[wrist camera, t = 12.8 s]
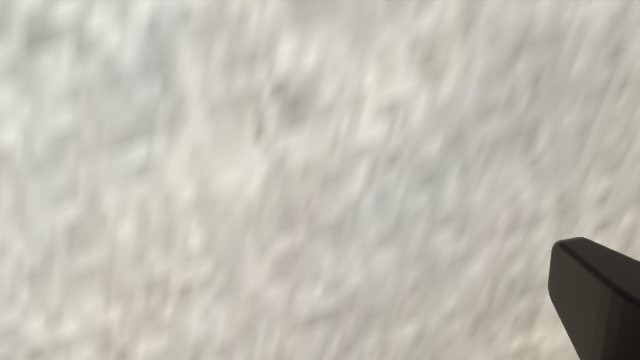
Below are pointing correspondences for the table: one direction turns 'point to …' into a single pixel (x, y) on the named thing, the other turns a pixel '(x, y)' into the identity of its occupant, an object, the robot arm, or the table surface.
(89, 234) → the table surface
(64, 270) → the table surface
